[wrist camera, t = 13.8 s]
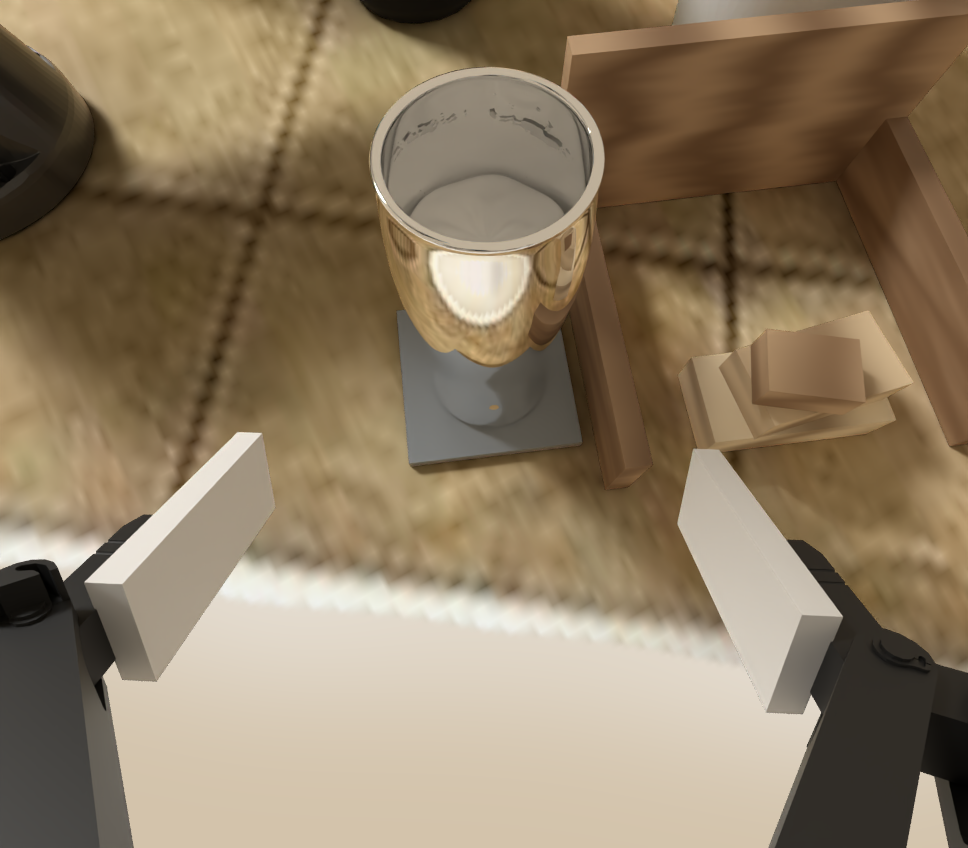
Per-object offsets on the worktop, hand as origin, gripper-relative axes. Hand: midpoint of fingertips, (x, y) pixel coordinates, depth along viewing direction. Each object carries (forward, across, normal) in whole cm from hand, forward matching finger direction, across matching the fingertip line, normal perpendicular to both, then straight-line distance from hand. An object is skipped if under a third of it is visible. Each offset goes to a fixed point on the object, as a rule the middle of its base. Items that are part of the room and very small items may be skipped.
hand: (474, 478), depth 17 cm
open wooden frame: (+17, +14, +1) cm, 22 cm away
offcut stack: (+13, +15, -2) cm, 20 cm away
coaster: (+14, 0, -2) cm, 14 cm away
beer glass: (+13, 0, -2) cm, 13 cm away
